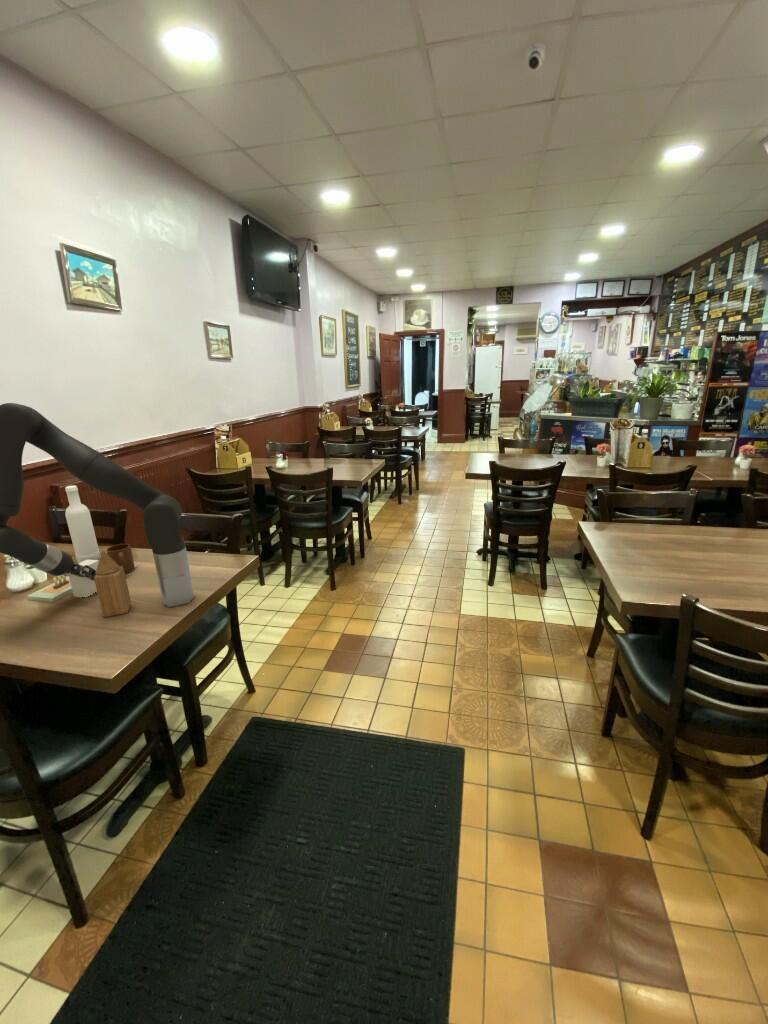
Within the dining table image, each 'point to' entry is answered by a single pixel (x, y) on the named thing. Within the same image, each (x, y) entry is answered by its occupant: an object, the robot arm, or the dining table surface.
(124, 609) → the decorative item
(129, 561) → the mug
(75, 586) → the housing
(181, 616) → the dining table surface
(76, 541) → the bottle
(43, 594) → the header board
